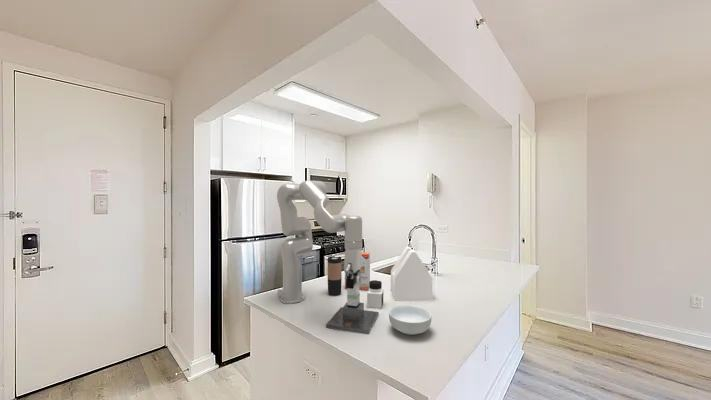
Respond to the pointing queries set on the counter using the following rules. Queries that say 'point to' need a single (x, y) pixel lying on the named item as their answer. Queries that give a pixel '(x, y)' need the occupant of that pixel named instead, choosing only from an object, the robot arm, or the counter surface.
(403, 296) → the white house-shaped block
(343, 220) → the robot arm
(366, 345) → the counter surface
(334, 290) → the travel mug
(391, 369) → the counter surface
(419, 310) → the cereal bowl
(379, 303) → the medicine bottle
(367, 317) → the stand base
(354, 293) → the column
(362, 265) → the cracker box
